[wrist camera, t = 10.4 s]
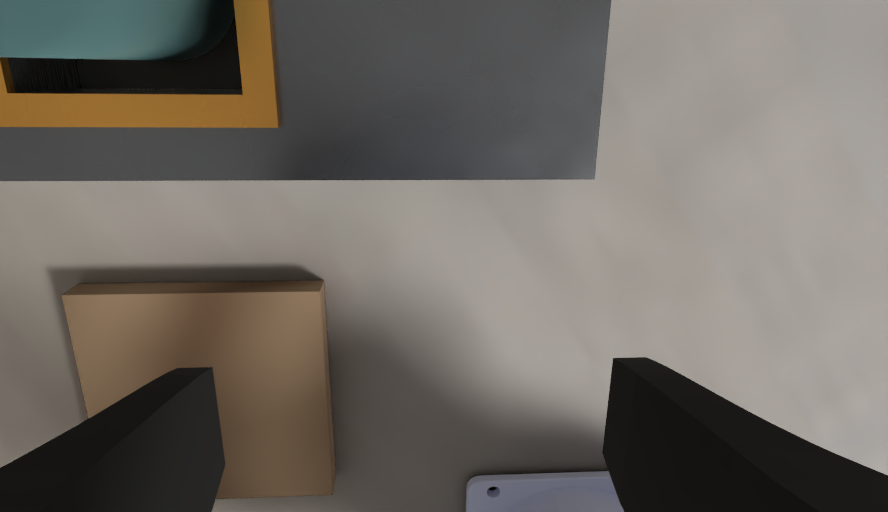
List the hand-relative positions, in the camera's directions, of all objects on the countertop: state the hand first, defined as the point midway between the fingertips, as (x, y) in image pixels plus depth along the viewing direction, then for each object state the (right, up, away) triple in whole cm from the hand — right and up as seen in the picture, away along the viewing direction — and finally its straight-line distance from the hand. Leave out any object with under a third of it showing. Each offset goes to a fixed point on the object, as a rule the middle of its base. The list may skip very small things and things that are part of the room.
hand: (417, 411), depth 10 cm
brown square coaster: (-8, -2, +10) cm, 13 cm away
